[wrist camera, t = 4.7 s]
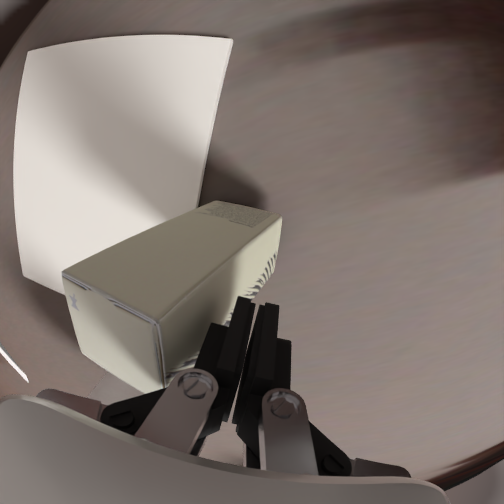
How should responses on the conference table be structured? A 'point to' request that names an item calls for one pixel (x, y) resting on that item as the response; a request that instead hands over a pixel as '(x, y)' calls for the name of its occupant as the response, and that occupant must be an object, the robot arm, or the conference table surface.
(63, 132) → the mat
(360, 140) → the conference table surface
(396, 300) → the conference table surface
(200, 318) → the box
